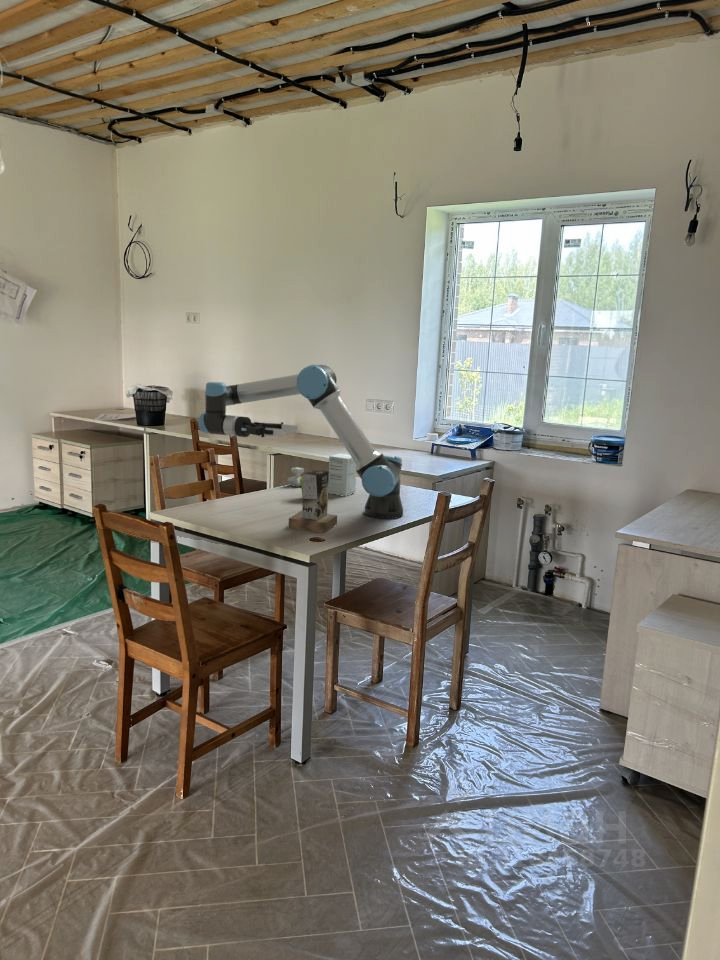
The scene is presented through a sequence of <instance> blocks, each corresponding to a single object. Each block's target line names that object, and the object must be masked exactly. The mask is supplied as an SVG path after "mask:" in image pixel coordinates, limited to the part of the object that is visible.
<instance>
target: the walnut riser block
mask: <svg viewBox="0 0 720 960" xmlns="http://www.w3.org/2000/svg"><path fill="white" fill-rule="evenodd" d="M335 525H336V526H337V525H338V515H337V514H329V513H327V515H326V516H324V517H322V518H321V519H319V520H312V519H305V518H302V510H301V511H298V512H297V513H295V514H294V515H292V516H291V517H289V518H288V529H293V530H294V529H295V530H301V531H311V532H317V533H319V532H320V533H328V532H329V531H331V530H332V529H333V528H335V527H336V526H335Z"/></svg>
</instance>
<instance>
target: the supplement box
mask: <svg viewBox="0 0 720 960" xmlns="http://www.w3.org/2000/svg"><path fill="white" fill-rule="evenodd" d="M328 459H329V460H328V471H329V482H328V493H329V494H328V495H332V494H336V495H335V496H338V495H343V496H342V497H344V496H347V495H349V496H351V495H350V494H352V493H354V494H356V489H357V488H356V486H357V484H356V483H357V472H356V463H355V461H354V460H353V458H352V457H351V455H350V454H345V453H337V454H333V455H329V458H328ZM352 495H353V494H352ZM347 497H348V496H347Z"/></svg>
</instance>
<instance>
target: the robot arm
mask: <svg viewBox="0 0 720 960" xmlns="http://www.w3.org/2000/svg"><path fill="white" fill-rule="evenodd" d="M337 382H338V381H337V375H336V373H335V371H334V370H333V369H332V368H331V367H330V366H328V365H324V364H310V365H308V366H305V367H303V369H301V370H300V372H299V373H298V374H292V375H286V376H280V377H273V378H267V379H263V380H256V381H250V382H245V383H243V382H242V383H239V384H232V385H226V383H225V382H220V381H219V382H218V381H211V382H210V381H209V382H206V384H205V391H204V393H205V394H204V395H205V411H204V412H203V413H201V414H200V416H199V419H198V422H197V424H198V428H199V431H200V432H201V433H205V434H211V435H219V436H220V435H221V436H229V438H233V437H241V438H248V437H249V436H250V435H253V436H258V437H259V436H260V437H261V438H265V436H267V437H268V436H269V437H275V438H276V437H277V438H278V437H279V438H283V436H284V434H283V433H293V434H298V433H299V425H296V424H294V425H293V424H284V422H280V423H272V422H271V423H270V422H269V423H268V422H258V421H254V422H252V420H251V418H250V417H249V416H239V415H228V414H226V413H227V407H228V406H234V405H241V404H244V403H251V402H257V401H265V400H271V399H277V398H283V397H290V396H297V395H301V396H303V397H304V398H306V399H307V401H309V403H310V405H311V406H312V408H313V409H317V410H319V411H320V412H321V414H322V415H323V416H324V418H325V419H326V421H327V422H328V424H329V426H330V427H331V428H332V430H333V432H334V433H335V434H336V435H337V437H338V439H339V441H340V442H341V443H342V445H343V446H344V447H345V449H346V451H347V453H348V455H351V457H352V458H353V460H354V461H355V463H356V474H357V476H359V478H360V479H361V485H362V488H363V490H364V491H365V492H366V493H367V494H369V495H368V497H367V500H366V502H365V505H364V510H363V512H364V514H365V515H366V514H367V515H366V516H368V515H370V516H369V517H371V516H373V517H372V518H376V517H378V518H377V519H397V518H396V517H398V518H401V517H403V516H404V507H403V503H402V499H401V495H400V493H401V482H402V481H401V478H402V477H401V476H402V467H403V463H402V457H400V456H394V455H385V454H383V453H382V452H380V451H377V450H376V449H375V448H374V446H373V444H372V443H371V442H370V440H369V438H368V437H367V435H366V434H365V433H364V431H363V429H361V427H360V425H359V423H358V422H357V421H356V419H355V417H354V416H353V414H352V413H351V412H350V410H349V409H348V407H347V405H346V404H345V402H344V401H343V399H342V398H341V397H340V395H341V389H340V387H339V386H338V385H337ZM402 515H403V516H402ZM400 516H401V517H400Z"/></svg>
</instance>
